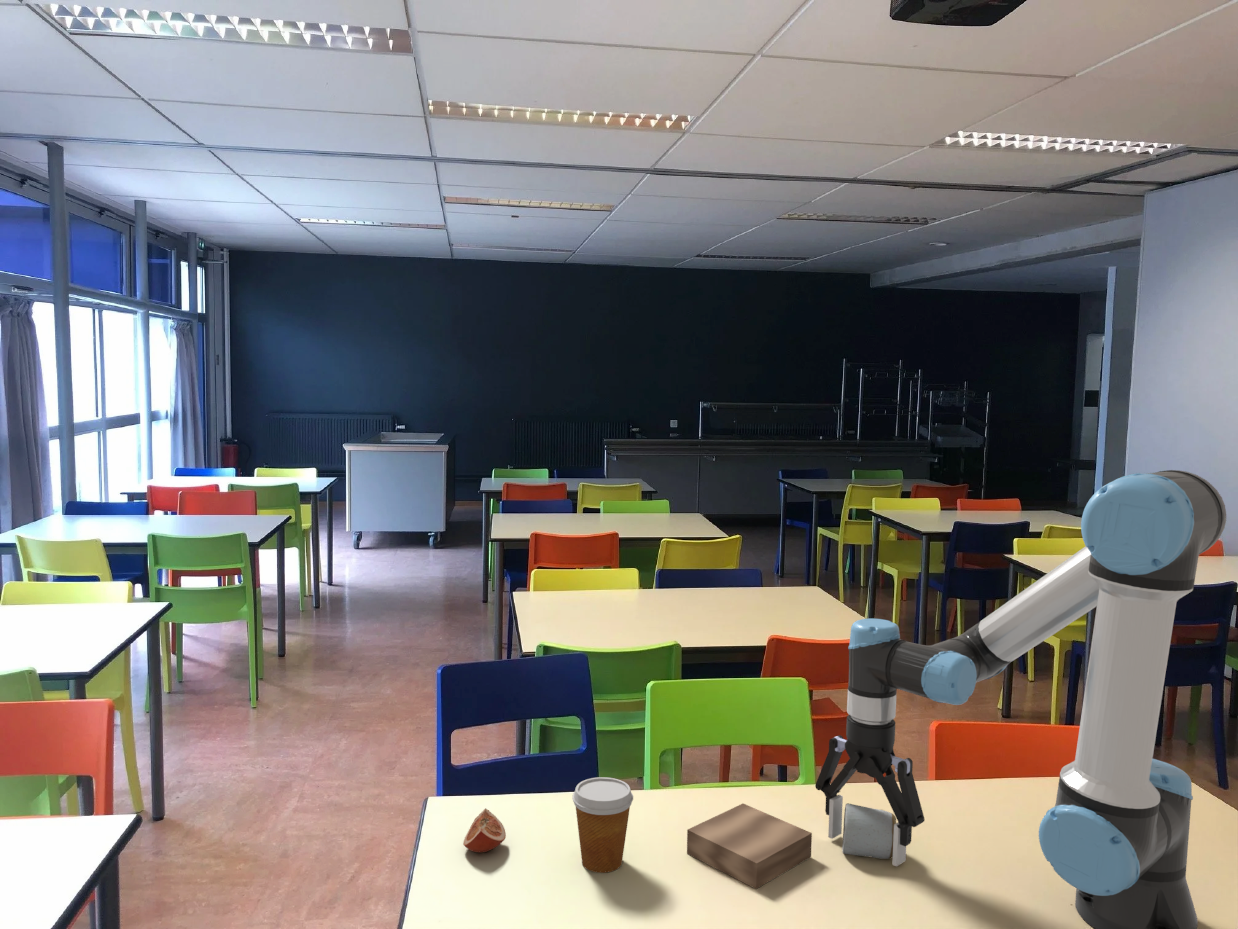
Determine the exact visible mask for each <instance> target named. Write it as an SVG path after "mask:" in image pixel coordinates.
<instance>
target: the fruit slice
mask: <svg viewBox="0 0 1238 929" xmlns="http://www.w3.org/2000/svg"><path fill="white" fill-rule="evenodd" d="M506 834H507V833H506V829H505V826H504V824H503V823H502V822H501V821H500V820H499V818H498V817H497V816H496V815H494V813H492V812H491V811H490V810H489V809H487V808H484V809H483V810H482V811H481V812H480V813H479V814H478V816H476V817H475V818H474V820H473V821H472V823H471V826H470V828H468V831H467V833H466V835H465V837H464V839H463V846H464V847H465V848H466V849H468V850H469V851H471V852H474V853H486V852H488V851H491V850H493V849H495V848H497V847H499V846H500V845H501V844H502V843H503V842H504V841H505V839H506V837H507V835H506Z"/></svg>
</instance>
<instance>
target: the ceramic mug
mask: <svg viewBox="0 0 1238 929" xmlns="http://www.w3.org/2000/svg"><path fill="white" fill-rule="evenodd" d="M896 823H897V818H896V816H895V814H894V813H892V812H889V811H886V810H883V809H878V808H873V807H867V806H864V805H863V806H862V805H857V804H852V803H845V807H844V815H843V829H842V849H841V850H842V852H841V853H843V854H844V855H853V856H858V857H867V858H868V857H869V858H875V859H886V860H887V859H893V836H894V824H896Z"/></svg>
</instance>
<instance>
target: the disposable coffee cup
mask: <svg viewBox="0 0 1238 929" xmlns="http://www.w3.org/2000/svg"><path fill="white" fill-rule="evenodd" d="M572 801H573V803H574V806H575V813H576V821H577V829H578V831H577V832H578V837H579V838H578V839H579V840H578V841H579V847H580V857H581V864H582V866H583V867H584V868H585V869H586V870H587V871H590V872H594V873H600V874H601V873H603V874H604V873H610V872H611V873H612V872H614V871H616V870H619V869H620V868H621V866H622V864H623V859H624V858H623V857H624V852H625V842H626V836H627V831H628V829H627V828H628V823H629V816H630V808H631V805H632V803H633V801H634V794H633V792H632V791H631V787H630V785H629V784H628V783H627V782H625V781H623V780H620V779H617V778H613V777H606V776H605V777H604V776H603V777H601V776H599V777H598V776H597V777H591V778H587V779H585V780H582V781H580V782H579V783H578V784H577V785H576V787H575V790H574V792H573V793H572Z"/></svg>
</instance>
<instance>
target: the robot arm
mask: <svg viewBox="0 0 1238 929" xmlns="http://www.w3.org/2000/svg"><path fill="white" fill-rule="evenodd" d="M1226 524H1227V511H1226V505H1225V502H1224V500H1223V497H1222V495H1221V494H1220V493H1219V491H1218V489H1217V488H1216V487H1215V486H1213V484H1212V483H1211V482H1209V481H1208V480H1206V479H1205V478H1203V477H1202V476H1199V475H1197V474H1195V473H1193V472H1189V471H1186V470H1185V471H1184V470H1176V469H1175V470H1173V469H1169V470H1162V471H1161V470H1160V471H1157V472H1149V473H1148V472H1147V473H1140V472H1139V473H1137V472H1136V473H1132V474H1128V475H1124V476H1121V477H1118V478H1116V479H1114V480H1112V481H1110V482H1108V483H1106V484H1105V485H1103V486H1101V487H1100V488H1099V489H1098V490H1097V491H1095V492H1094V494H1093V495H1092V496H1091V497H1090V498H1089V500H1088V502H1086V505H1085V507H1084V509H1083V512H1082V516H1081V523H1080V529H1081V531H1080V532H1081V536H1082V540H1083V542H1084V547H1082V548H1081V549H1080V550H1078V551H1077V552H1075V553H1074V554H1073V555H1072V556H1069V558H1068V557H1067V559H1066V560H1064V561H1062V563H1060V564H1059V565H1057V566H1056V567H1054V568H1053V569H1052V570H1050V571H1049V572H1047V573H1046V574H1044V575H1043V576H1042V577H1040V578H1039V579H1038V580H1036V581H1035V582H1033V583H1032V584H1030V585H1029V586H1028V587H1026V588H1025V589H1023V590H1022V591H1020V592H1019V593H1017V594H1016V595H1015V596H1014V597H1013V598H1012V597H1011V599H1009V600H1008V601H1007V602H1005V603H1004V604H1002V605H1001V606H1000V607H998V608H997V609H996V610H994V611H993V612H991V613H990V614H988V615H987V616H986V617H984V618H983V619H982V620H980V621H979V622H977V623H976V624H975V625H973V626H972V627H970V628H968V629H967V630H966V631H965V632H963V633H962V634H959V635H958V636H955V637H953V638H949V639H946V640H943V641H940V642H937V643H934V644H931V645H925V644H920V643H914V642H910V641H907V640H905V639H901V634H900V627H899V625H898V624H897V623H895V622H892V621H891V620H888V619H882V618H862V619H857V620H856V621H854V622H853V623H852V625H851V627H850V634H849V635H850V636H849V643H848V644H849V645H848V647H847V648H848V684H847V685H848V686H847V702H846V712H847V714H848V715H847V717H846V728H845V732H846V733H845V734H846V739H844V736H843V735H841V734H840V735H837V736H834V737H832V738H830V739H829V741H828V752H827V755H826V757H825V760H824V762H823V765H822V767H821V770H820V772H819V775H818V778H817V780H816V782H815V786H814V787H815V789H816V790H817V791H821V792H822V793H823V794H824V796H825V809H824V811H825V815H827V816H828V833H827V834H828V836H827V837H828V838H829V839H831V840H833V839H835V838H836V837H838V836H840V835H841V834H842V832H843V829H842V827H843V826H842V824H843V800H844V799H843V798H844V797H843V795H841V794H839V793H841V790H842V789H843V787H844V786H846V784H847V783H848V781H849V780H850V779H851V778H852V777H853V775H854V774H855V773H856V772H857V773H859V774H866V775H867V776H869V777H870V778H873V779H875V780H876V782H877V784H878V785H879V786H881V788H882V791H883V793H884V794H885V797H886V799H887V800H888V803H889V805H890V807H891V810H892V812H893V814H894V815H895V817H896V821H897V822H896V824H894V836H893V857H892V860H891V861H892V866H894V867H898V866H900V865H901V864H903V863H904V862H906V861H907V859H906V858H907V846H908V845H910V844H911V842H912V835H913V834H912V832H913V831H912V830H913V828H916V827H918V826H919V825H921V824H922V823H924V822H925V815H924V812H923V807H922V804H921V801H920V796H919V793H918V790H917V786H916V782H915V779H914V778H915V777H914V775H913V765H914V763H913V762H914V761H913V760H912V758H910V757H906V758H905V759H904V758H901V757H898V756H896V754H895V751H894V746H895V743H896V742H895V741H896V721H895V720H894V719H895V718H896V714H897V712H896V711H897V693H898V692H897V690H900V691H903V692H907V693H910V694H913V695H917V696H920V697H922V698H926V699H929V700H932V701H933V702H937V703H939V704H941V703H944V704H949V705H954V706H959V705H963V704H965V703H966V702H968V700H969V697H972V695H973V694H974V691H975V688H976V684H977V683H979V682H981V681H985V680H989V679H992V678H994V677H995V676H997V675H999V674H1001V672H1003V671H1004V670H1006V668H1007V666H1008V665H1009V664H1010V663H1011V662H1013V661H1015V660H1016V659H1018V658H1019V657H1021V656H1022V655H1024V654H1026V653H1027V652H1029V651H1030V650H1031V649H1033V648H1034V647H1036V646H1038V645H1040V644H1042V643H1043V642H1044V641H1046V640H1047V639H1049V638H1051V637H1052V636H1054V635H1055V634H1056V633H1058V632H1060V631H1061V630H1063V629H1064V628H1065V627H1067V626H1068V625H1069V626H1070V624H1072V623H1073V622H1075V621H1076V620H1078V619H1080V618H1081V617H1083V616H1084V615H1086V614H1087V613H1089V612H1091V610H1093V609H1095V608H1096V610H1095V617H1094V623H1093V624H1094V625H1093V633H1092V637H1091V638H1092V639H1091V645H1090V652H1089V658H1088V666H1087V674H1086V680H1085V687H1084V693H1083V694H1084V695H1083V700H1082V701H1083V702H1082V710H1081V717H1080V723H1079V730H1078V738H1077V742H1076V743H1077V744H1076V750H1075V751H1076V752H1075V757H1074V760H1073V761H1071V762H1070V763H1068V764H1066V765H1064V766H1063V767H1061V769H1060V772H1059V777H1058V778H1059V779H1058V785H1057V792H1056V793H1057V794H1056V800H1055V805H1054V807H1051V808H1050V809H1048V810H1047V811H1046V813H1045V814H1044V815H1043V818H1042V820H1041V822H1040V823H1039V827H1038V840H1039V845H1040V848H1041V852H1042V854H1043V856H1044V858H1045V859H1046V861H1047V862H1049V864H1050V866H1051V867H1052V869H1053V871H1054V872H1055V873H1056V874H1057V875H1058V876H1059V877H1060V878H1061V880H1064V881H1065V882H1066V883H1068V884H1069V885H1070V886H1072V887H1073V888H1075V889H1076V890H1075V900H1074V901H1075V903H1074V904H1075V909H1076V911H1077V913H1078V915H1079V916H1080V917H1081V918H1082V919H1083V920H1084V921H1085V922H1086V923H1087V924H1088V925H1089V926H1090V927H1092V928H1094V929H1198V925H1199V922H1198V921H1199V920H1198V915H1197V912H1196V908H1195V906H1194V905H1195V904H1194V902H1193V898H1192V895H1191V890H1190V887H1189V885H1188V884H1189V883H1188V882H1187V876H1186V875H1187V865H1188V850H1189V839H1190V838H1189V835H1190V824H1191V822H1190V821H1191V810H1192V801H1193V799H1194V796H1193V795H1192V784H1193V783H1192V780H1191V777H1190V776H1189V775H1188V773H1186V772H1185V771H1184V770H1183V769H1181V768H1179V767H1177V766H1175V765H1173V764H1170V763H1168V762H1166V761H1162V760H1159V759H1156V758H1154V750H1155V744H1156V739H1157V738H1156V737H1157V730H1158V725H1159V718H1160V713H1161V705H1162V700H1163V693H1164V692H1163V691H1164V685H1165V680H1166V679H1165V678H1166V671H1167V666H1168V660H1169V654H1170V647H1171V641H1172V636H1173V635H1172V634H1173V629H1174V628H1173V627H1174V620H1175V615H1176V608H1177V602H1178V601H1179V600H1180V599H1182V598H1183V597H1185V596H1186V595H1188V594H1189V593H1191V592H1193V591H1194V587H1195V581H1196V574H1197V567H1198V562H1199V556H1200V555H1201V554H1203V553H1204V552H1206V551H1208V550H1210V549H1211V547H1213V546H1214V545H1215V544H1216V542H1218V540H1219V539H1220V538H1221V536H1222V534H1223V532H1224V530H1225V527H1226ZM844 751H846V754H847V756H848V758H849V759H848V761H846V762H845V764H844V765H843V767H842V768H841V771H840V772H839V773H838V774H837V775H836V776H835V778H834V779H833V777H834V774H835V772H836V769H837V768H838V765H839V763H840V761H841V760H840V759H841V757H842V755H843V752H844ZM892 766H894V770H893V767H892ZM894 771H895V772H894ZM895 773H896V774H897V775H896V774H895ZM884 774H885V776H884ZM896 776H897V781H896ZM832 780H833V781H832ZM897 782H898V783H897Z"/></svg>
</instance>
